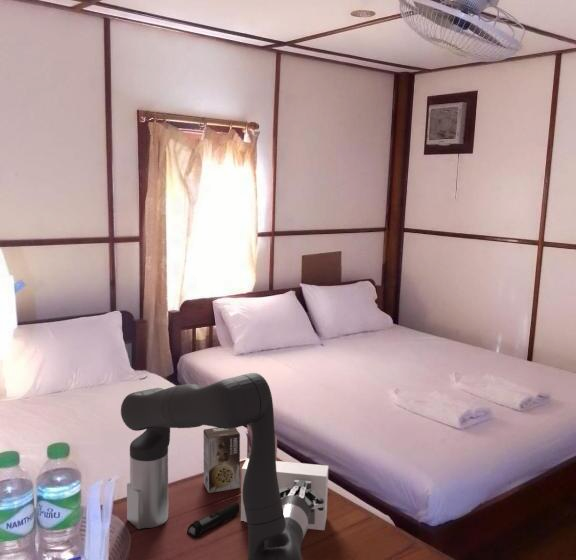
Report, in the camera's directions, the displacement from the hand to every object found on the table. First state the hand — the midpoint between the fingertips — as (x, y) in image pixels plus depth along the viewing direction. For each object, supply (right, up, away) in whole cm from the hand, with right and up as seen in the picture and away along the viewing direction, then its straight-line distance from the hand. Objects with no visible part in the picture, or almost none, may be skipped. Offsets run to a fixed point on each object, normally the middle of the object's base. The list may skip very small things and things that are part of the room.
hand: (302, 483), depth 146 cm
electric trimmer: (-22, -12, +5) cm, 25 cm away
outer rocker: (0, -5, +2) cm, 6 cm away
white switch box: (-4, -12, +7) cm, 14 cm away
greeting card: (-11, -9, +27) cm, 31 cm away
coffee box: (-22, -9, +24) cm, 34 cm away
